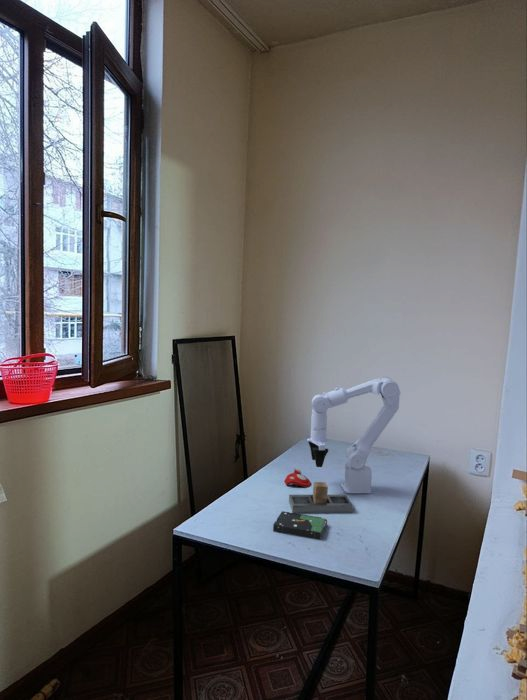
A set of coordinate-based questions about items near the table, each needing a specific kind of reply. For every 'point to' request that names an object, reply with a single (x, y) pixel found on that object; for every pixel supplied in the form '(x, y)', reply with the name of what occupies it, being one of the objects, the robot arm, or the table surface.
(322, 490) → the walnut peg
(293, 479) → the tracker holder
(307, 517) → the disk drive
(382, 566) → the table surface
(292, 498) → the rail
